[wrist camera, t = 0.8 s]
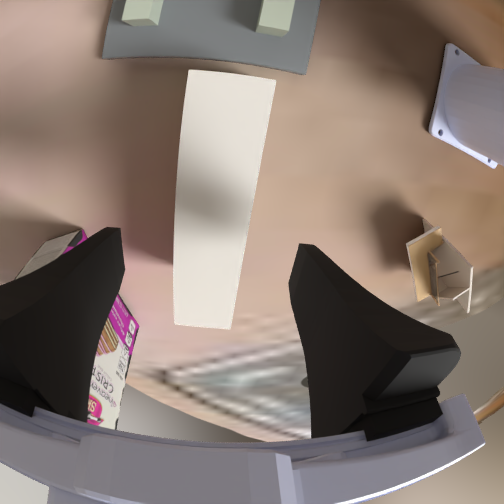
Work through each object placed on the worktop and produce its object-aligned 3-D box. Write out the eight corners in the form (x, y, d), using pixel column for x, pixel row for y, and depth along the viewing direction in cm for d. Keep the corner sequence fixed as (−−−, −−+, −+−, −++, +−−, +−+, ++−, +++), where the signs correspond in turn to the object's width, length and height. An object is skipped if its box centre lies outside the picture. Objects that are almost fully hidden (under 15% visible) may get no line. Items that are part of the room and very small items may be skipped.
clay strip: (261, 82, 15) (276, 80, 10) (229, 271, 22) (230, 329, 17) (202, 75, 14) (188, 69, 9) (184, 266, 22) (174, 324, 17)
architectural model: (400, 277, 25) (436, 334, 18) (386, 221, 21) (434, 278, 15) (428, 261, 24) (468, 313, 18) (418, 204, 20) (473, 253, 14)
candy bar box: (143, 324, 25) (112, 495, 11) (103, 330, 25) (63, 481, 11) (85, 222, 19) (-29, 418, 5) (43, 238, 19) (-58, 401, 5)
